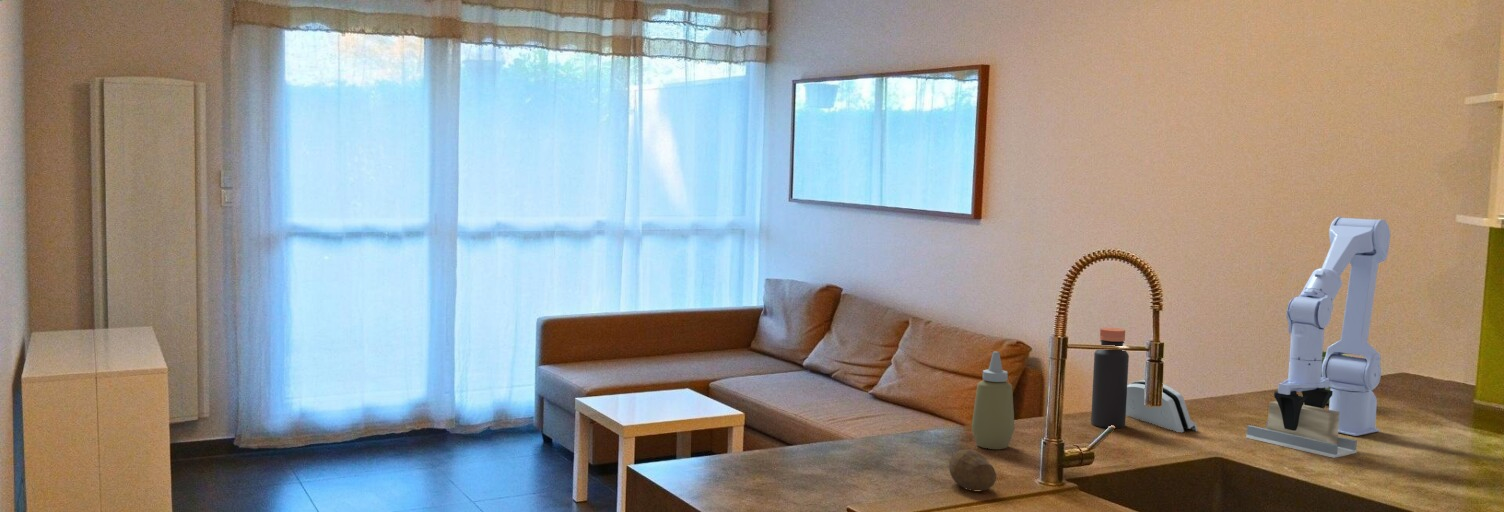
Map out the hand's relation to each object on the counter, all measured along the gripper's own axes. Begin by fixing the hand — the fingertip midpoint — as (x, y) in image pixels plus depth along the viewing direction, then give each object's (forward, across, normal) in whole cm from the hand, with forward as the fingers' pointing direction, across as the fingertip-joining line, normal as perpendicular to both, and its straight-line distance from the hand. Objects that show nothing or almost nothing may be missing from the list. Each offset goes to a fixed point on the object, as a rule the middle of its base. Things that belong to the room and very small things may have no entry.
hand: (1301, 427), depth 226 cm
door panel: (+3, 0, 0) cm, 3 cm away
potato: (+4, -79, +11) cm, 80 cm away
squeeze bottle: (+4, -55, +29) cm, 62 cm away
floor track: (+3, 0, 0) cm, 3 cm away
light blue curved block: (+4, -9, +26) cm, 28 cm away
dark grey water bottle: (+4, -20, +30) cm, 36 cm away
